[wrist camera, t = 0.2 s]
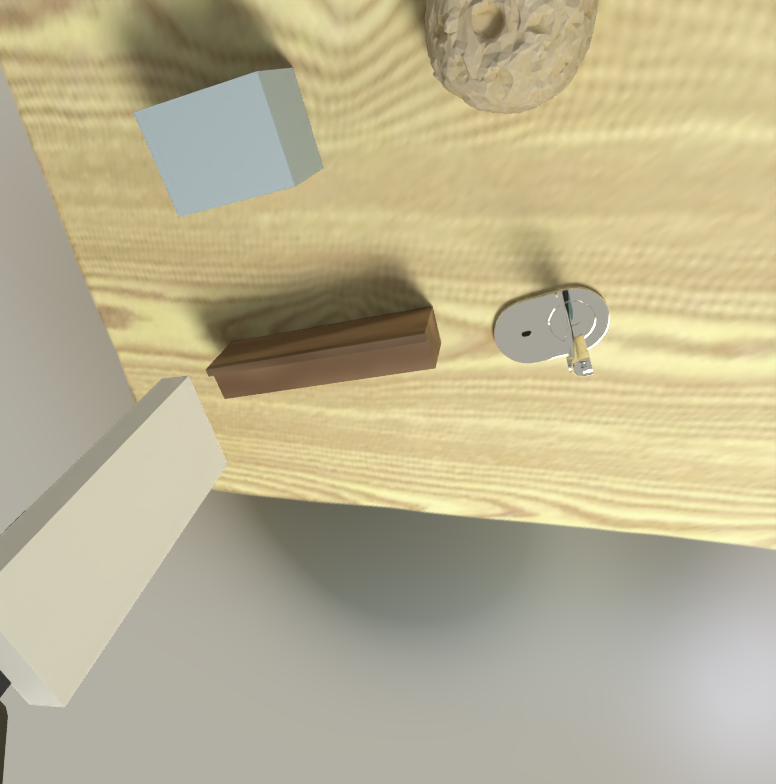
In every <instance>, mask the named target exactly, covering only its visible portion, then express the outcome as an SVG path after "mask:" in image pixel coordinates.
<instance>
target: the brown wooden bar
mask: <svg viewBox="0 0 776 784" xmlns="http://www.w3.org/2000/svg"><path fill="white" fill-rule="evenodd" d="M440 346H441V340H440V336H439V331H438V327H437V323H436V319H435V315H434V311H433V306H432V307H427V308H421V309H415V310H410V311H404V312H399V313H393V314H387V315H382V316H376V317H371V318H365V319H359V320H354V321H348V322H343V323H337V324H331V325H326V326H320V327H314V328H309V329H303V330H298V331H292V332H286V333H281V334H275V335H270V336H264V337H258V338H253V339H247V340H242V341H236V342H231V343H230V344H229V345H228V346H227V347H226V348H225V349H224V351H223V352H222V353H221V354H220V355H219V356H218V357H217V358H216V359H215V360H214V361H213V362H212V363H211V364H210V366H209V367H208V368H207V369H206V371H207V374H208V376H214V377H215V379H216V381H217V383H218V386H219V388H220V390H221V392H222V394H223V396H224V398H225V399H227V398H234V397H241V396H248V395H255V394H262V393H269V392H276V391H282V390H289V389H296V388H303V387H310V386H317V385H324V384H331V383H337V382H344V381H351V380H358V379H365V378H372V377H379V376H386V375H392V374H399V373H406V372H413V371H420V370H427V369H434V368H436V363H437V359H438V355H439V350H440Z"/></svg>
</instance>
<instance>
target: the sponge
mask: <svg viewBox="0 0 776 784" xmlns="http://www.w3.org/2000/svg"><path fill="white" fill-rule="evenodd" d="M597 6H598V0H426V11H425V15H424V17H425V29H426V32H427V33H426V42H427V49H428V56H429V57H430V59H431V65H432V67H433V69H434V73H433V75H434V76H435V77H436V78H437V79H438V80H439V81H440V82H441V83H442V85H443V87H445V88H446V89H447V90H448V91H449V92H451V93H453V94H455V95H457V96H458V97H460V98H461V99H463V100H464V101H465V103H467V104H468V105H469V106H471V107H473V108H475V109H477V110H481V111H487V112H492V113H502V114H503V113H504V114H510V113H521V112H523V111H527V110H531V109H533V108H536V107H537V106H538V105H540V104H541V103H543V102H545V101H547V100H550V99H552V98H553V97H554V96H556V95H557V94H558V93H560V92H561V91H562V90H564V89H565V88H566V86H567V85H568V84H569V83H570V82H571V80H572V79H573V77H574V76H575V74H576V72H577V69H578V67H579V66H580V65H581V64H582V61H583V59H584V57H585V54H586V52H587V50H588V49H589V46H590V41H591V38H592V33H593V29H594V24H595V20H596V14H597Z"/></svg>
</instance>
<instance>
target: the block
mask: <svg viewBox="0 0 776 784" xmlns="http://www.w3.org/2000/svg"><path fill="white" fill-rule="evenodd" d="M133 113H134V115H135V117H136V120H137V122H138V124H139V127H140V129H141V131H142V133H143V136H144V138H145V140H146V143H147V145H148V147H149V150H150V152H151V154H152V156H153V159H154V161H155V163H156V166H157V168H158V170H159V173H160V175H161V177H162V179H163V182H164V184H165V186H166V189H167V191H168V193H169V196H170V198H171V200H172V202H173V205H174V207H175V209H176V212H177V214H178V216H179V217H180V216H184V215H188V214H192V213H196V212H200V211H203V210H207V209H211V208H215V207H219V206H223V205H226V204H230V203H234V202H238V201H242V200H246V199H249V198H253V197H257V196H261V195H265V194H269V193H272V192H276V191H280V190H284V189H288V188H292V187H295V186H297V185H298V184H300V183H301V182H303V181H304V180H306V179H307V178H309V177H311V176H312V175H314V174H315V173H317V172H318V171H320V170H321V169H323V165H322V161H321V158H320V155H319V151H318V148H317V145H316V141H315V138H314V135H313V131H312V128H311V125H310V121H309V118H308V115H307V112H306V108H305V105H304V102H303V98H302V95H301V92H300V88H299V85H298V82H297V78H296V75H295V72H294V69H293V68H284V69H274V70H264V71H256V72H253V73H250V74H247V75H244V76H241V77H238V78H235V79H232V80H229V81H226V82H223V83H220V84H217V85H214V86H211V87H208V88H205V89H202V90H199V91H196V92H193V93H190V94H187V95H184V96H181V97H178V98H175V99H172V100H169V101H166V102H163V103H160V104H157V105H154V106H151V107H148V108H145V109H142V110H139V111H136V112H133Z"/></svg>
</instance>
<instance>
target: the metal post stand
mask: <svg viewBox="0 0 776 784" xmlns="http://www.w3.org/2000/svg"><path fill="white" fill-rule="evenodd" d="M609 321H610V315H609V310H608V307H607V304H606V302H605V301H604V299H603V298H602V297H601V296H600V295H599V294H598V293H596V292H595V291H593V290H591V289H588V288H586V287H580V286H571V287H566V288H561V289H558V290H554V291H551V292H547V293H544V294H540V295H537V296H533V297H530V298H526V299H523V300H519V301H517V302H514V303H512V304H511V305H509V306H507V307H506V308H505V309H504V310H503V311H502V312H501V314H500V315H499V316H498V318H497V320H496V323H495V328H494V337H495V342H496V344H497V346H498V348H499V349H500V351H501V352H502V353H503V354H504V355H505V356H506V357H508V358H510V359H511V360H514V361H517V362H521V363H535V362H540V361H544V360H548V359H552V358H556V357H560V356H564V355H569V357H566V358H567V363H568V367H569V371H570V373H574V374H575V375H576V376H579V377H586V376H590V375H594V374H593V369H592V365H591V361H590V357H589V354H588V350H587V349H589V348H590V347H592V346H594V345H595V344H596V343H598V342H599V341H600V340H601V339H602V338H603V336H604V335H605V333H606V331H607V329H608V326H609Z"/></svg>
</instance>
